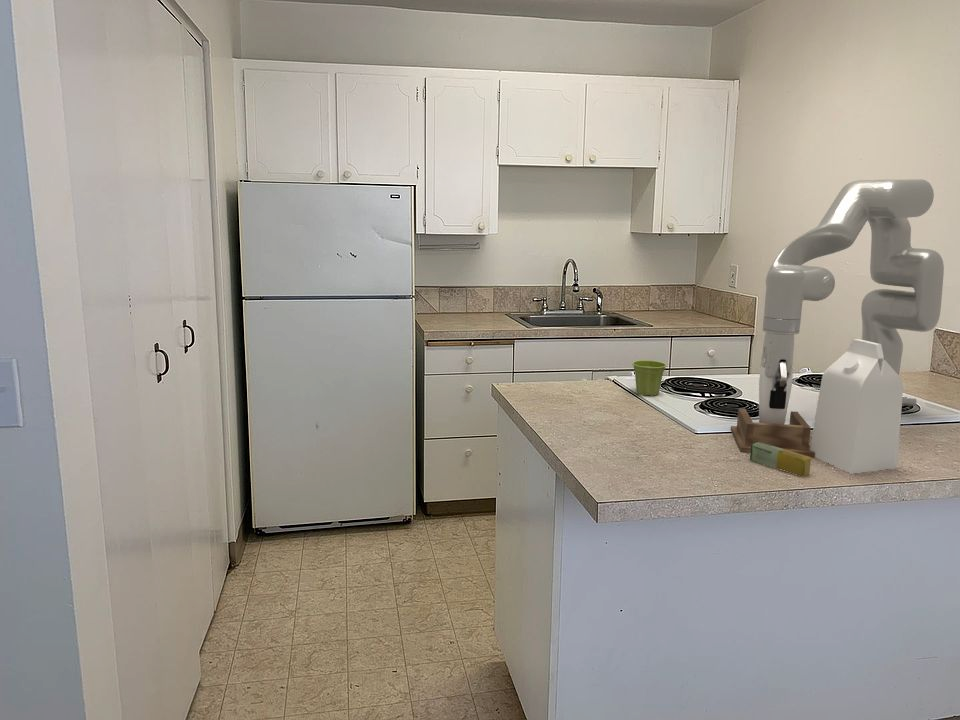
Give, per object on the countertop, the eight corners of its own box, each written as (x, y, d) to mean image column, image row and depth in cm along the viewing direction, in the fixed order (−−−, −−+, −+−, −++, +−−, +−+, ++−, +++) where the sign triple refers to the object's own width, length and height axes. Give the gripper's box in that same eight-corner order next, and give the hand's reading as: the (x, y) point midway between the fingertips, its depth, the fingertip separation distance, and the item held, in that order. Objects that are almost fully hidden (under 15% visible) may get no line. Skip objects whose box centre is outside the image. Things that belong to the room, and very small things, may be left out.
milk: (897, 470, 148) (914, 345, 142) (851, 476, 144) (867, 348, 139) (851, 451, 159) (866, 335, 153) (808, 456, 155) (821, 337, 150)
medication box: (748, 461, 152) (750, 443, 151) (755, 458, 153) (757, 440, 152) (803, 478, 142) (805, 459, 141) (810, 475, 144) (812, 456, 143)
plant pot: (643, 387, 210) (645, 358, 209) (671, 393, 204) (673, 364, 202) (623, 393, 204) (625, 363, 202) (651, 399, 198) (653, 368, 196)
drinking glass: (789, 437, 159) (796, 371, 156) (757, 435, 161) (763, 369, 157) (783, 428, 166) (789, 364, 163) (752, 426, 167) (758, 363, 164)
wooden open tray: (797, 434, 169) (800, 409, 168) (814, 457, 154) (817, 430, 152) (730, 429, 172) (732, 405, 170) (740, 452, 156) (743, 425, 155)
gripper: (756, 318, 167) (749, 393, 171) (770, 331, 150) (762, 413, 154) (790, 319, 166) (783, 394, 169) (809, 332, 149) (800, 416, 153)
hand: (773, 403), depth 162 cm, fingers closed on drinking glass, 6 cm apart
